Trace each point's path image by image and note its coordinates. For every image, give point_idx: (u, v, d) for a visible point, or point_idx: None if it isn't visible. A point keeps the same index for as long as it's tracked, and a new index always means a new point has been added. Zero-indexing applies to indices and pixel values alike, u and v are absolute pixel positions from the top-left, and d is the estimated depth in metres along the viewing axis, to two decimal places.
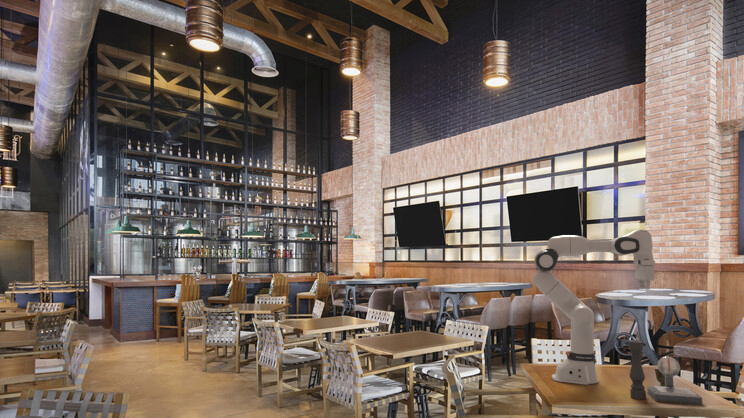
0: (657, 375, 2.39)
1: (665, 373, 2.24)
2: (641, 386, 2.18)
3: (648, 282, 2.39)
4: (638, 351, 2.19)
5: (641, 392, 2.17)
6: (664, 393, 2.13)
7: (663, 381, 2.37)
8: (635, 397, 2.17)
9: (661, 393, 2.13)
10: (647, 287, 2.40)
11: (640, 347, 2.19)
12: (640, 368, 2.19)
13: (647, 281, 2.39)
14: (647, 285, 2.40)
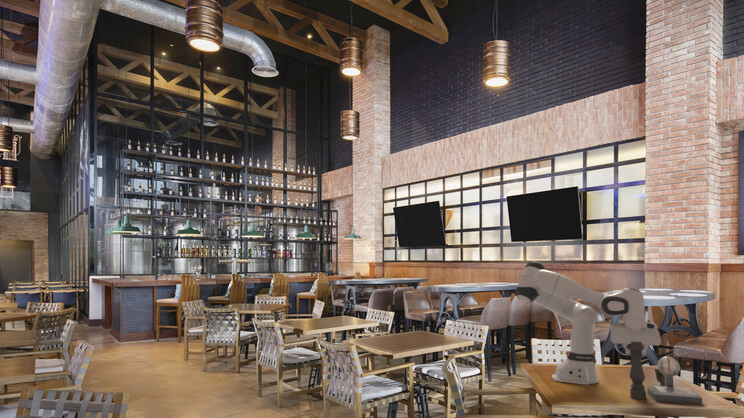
0: (657, 375, 2.39)
1: (665, 373, 2.24)
2: (641, 386, 2.18)
3: None
4: (638, 351, 2.19)
5: (641, 392, 2.17)
6: (664, 393, 2.13)
7: (663, 381, 2.37)
8: (635, 397, 2.17)
9: (661, 393, 2.13)
10: None
11: (640, 347, 2.19)
12: (640, 368, 2.19)
13: None
14: None
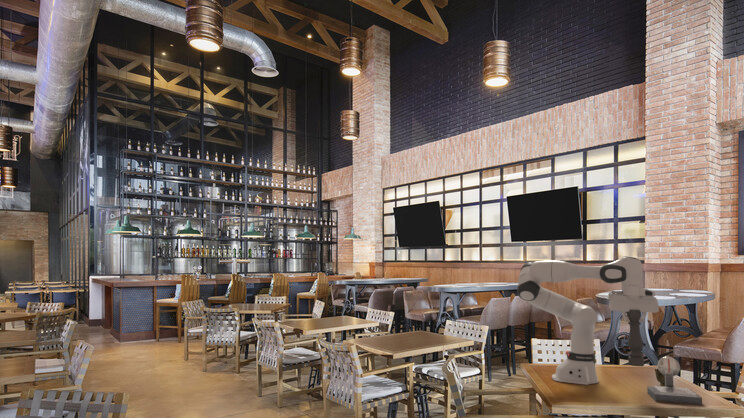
0: (657, 375, 2.39)
1: (665, 373, 2.24)
2: (639, 353, 2.19)
3: None
4: (636, 319, 2.21)
5: (640, 359, 2.18)
6: (664, 393, 2.13)
7: (663, 381, 2.37)
8: (633, 364, 2.19)
9: (661, 393, 2.13)
10: None
11: (638, 315, 2.20)
12: (638, 335, 2.20)
13: None
14: None
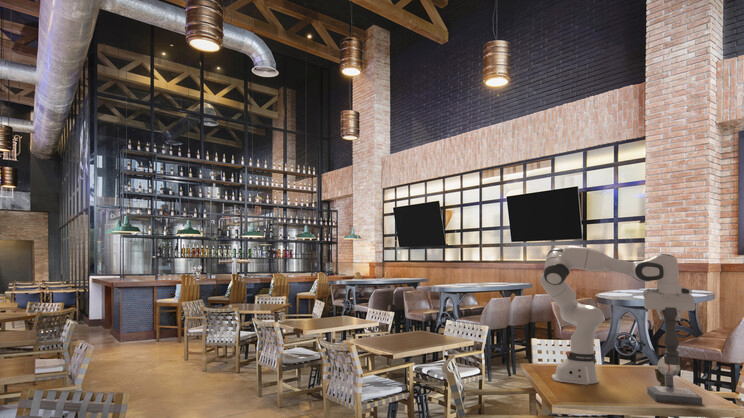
0: (657, 375, 2.39)
1: (665, 373, 2.24)
2: (675, 352, 2.16)
3: None
4: (672, 317, 2.18)
5: (676, 357, 2.15)
6: (664, 393, 2.13)
7: (663, 381, 2.37)
8: (669, 363, 2.16)
9: (661, 393, 2.13)
10: None
11: (674, 313, 2.18)
12: (674, 334, 2.17)
13: None
14: None
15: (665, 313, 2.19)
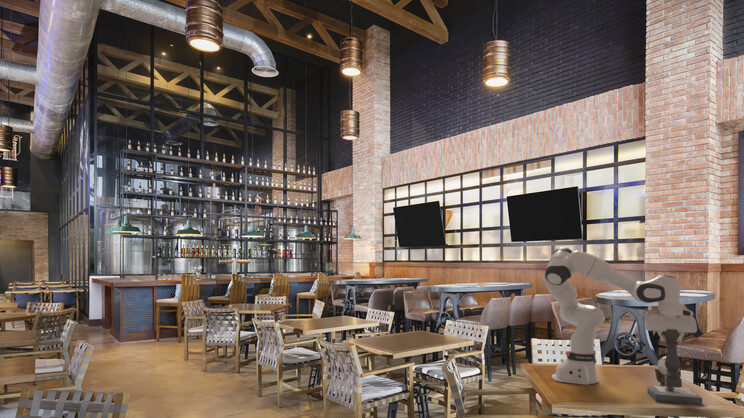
0: (657, 375, 2.39)
1: (665, 373, 2.24)
2: (677, 374, 2.15)
3: None
4: (673, 339, 2.17)
5: (678, 380, 2.14)
6: (664, 393, 2.13)
7: (663, 381, 2.37)
8: (671, 385, 2.15)
9: (661, 393, 2.13)
10: None
11: (676, 335, 2.17)
12: (676, 356, 2.16)
13: None
14: None
15: (666, 335, 2.18)
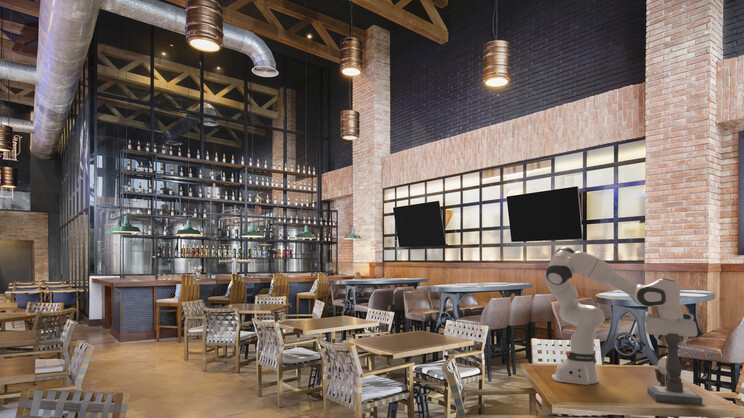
0: (657, 375, 2.39)
1: (665, 373, 2.24)
2: (678, 378, 2.15)
3: None
4: (674, 343, 2.16)
5: (679, 384, 2.14)
6: (664, 393, 2.13)
7: (663, 381, 2.37)
8: (672, 389, 2.15)
9: (661, 393, 2.13)
10: None
11: (677, 339, 2.16)
12: (677, 360, 2.16)
13: None
14: None
15: (667, 339, 2.18)
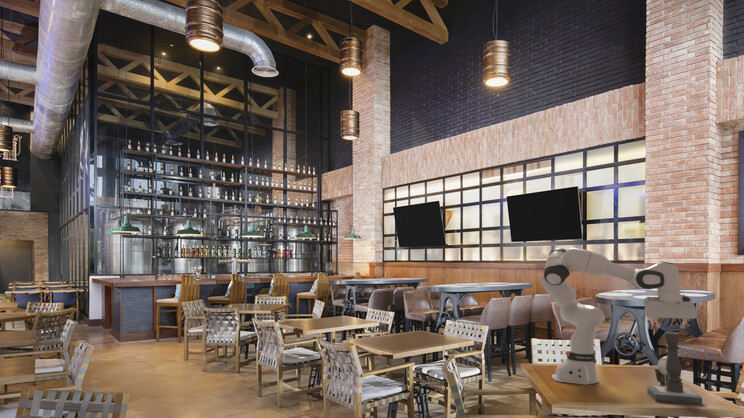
0: (657, 375, 2.39)
1: (665, 373, 2.24)
2: (678, 378, 2.15)
3: None
4: (674, 343, 2.16)
5: (679, 384, 2.14)
6: (664, 393, 2.13)
7: (663, 381, 2.37)
8: (672, 389, 2.15)
9: (661, 393, 2.13)
10: None
11: (677, 339, 2.16)
12: (677, 360, 2.16)
13: None
14: None
15: (667, 339, 2.18)
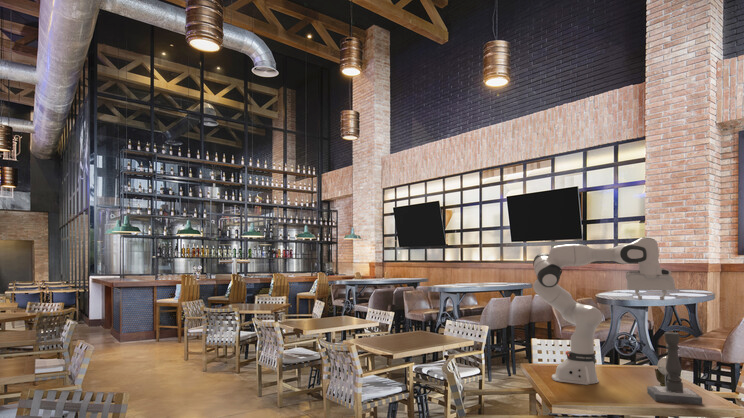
0: (657, 375, 2.39)
1: (665, 373, 2.24)
2: (678, 378, 2.15)
3: None
4: (674, 343, 2.16)
5: (679, 384, 2.14)
6: (664, 393, 2.13)
7: (663, 381, 2.37)
8: (672, 389, 2.15)
9: (661, 393, 2.13)
10: None
11: (677, 339, 2.16)
12: (677, 360, 2.16)
13: None
14: None
15: (667, 339, 2.18)
